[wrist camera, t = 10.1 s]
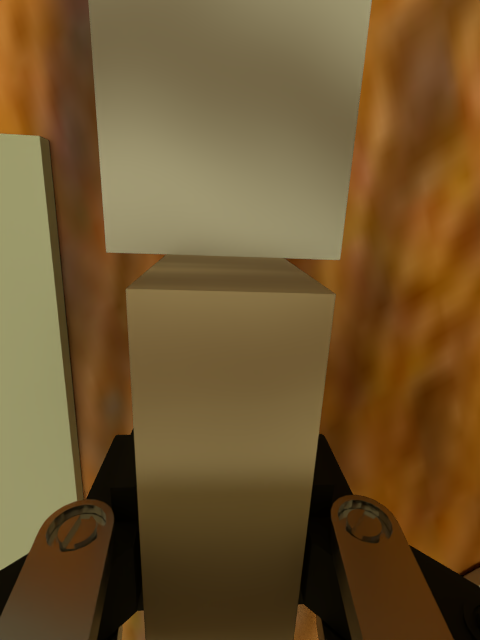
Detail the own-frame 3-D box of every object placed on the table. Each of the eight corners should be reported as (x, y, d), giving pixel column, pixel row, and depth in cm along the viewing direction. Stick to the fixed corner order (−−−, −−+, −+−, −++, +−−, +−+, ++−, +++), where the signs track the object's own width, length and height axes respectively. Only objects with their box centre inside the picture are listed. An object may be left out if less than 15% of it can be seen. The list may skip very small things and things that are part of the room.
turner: (290, 607, 14) (327, 811, 9) (138, 614, 14) (95, 830, 9) (366, -56, 8) (589, -455, 3) (94, -83, 8) (-120, -596, 3)
